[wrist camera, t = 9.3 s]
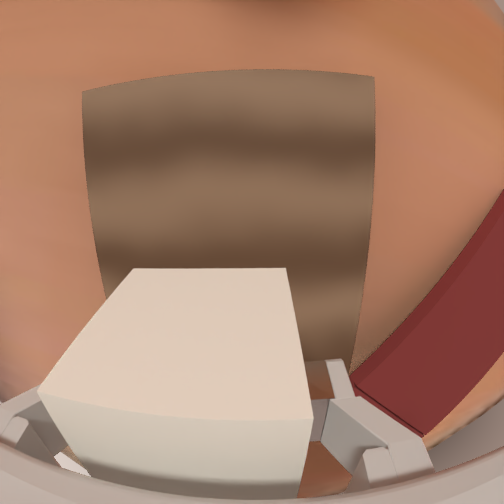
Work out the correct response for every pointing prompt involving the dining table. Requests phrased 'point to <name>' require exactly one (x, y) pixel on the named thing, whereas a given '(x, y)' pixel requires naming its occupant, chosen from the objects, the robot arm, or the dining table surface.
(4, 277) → the dining table surface
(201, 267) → the plinth
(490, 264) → the carton
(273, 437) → the cream block
